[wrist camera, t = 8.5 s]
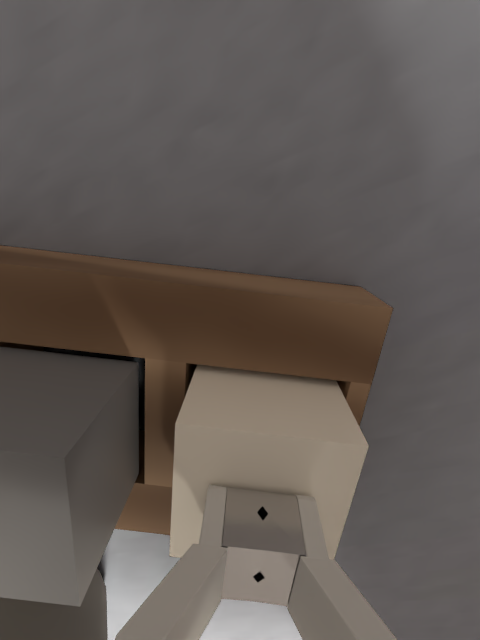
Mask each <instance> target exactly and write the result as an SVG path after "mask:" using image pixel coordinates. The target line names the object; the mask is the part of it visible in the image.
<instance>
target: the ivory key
mask: <svg viewBox="0 0 480 640" xmlns="http://www.w3.org/2000/svg"><path fill="white" fill-rule="evenodd" d="M368 447H369V445H368V443H367V441H366V439H365V437H364V435H363V433H362V431H361V429H360V427H359V425H358V423H357V421H356V419H355V417H354V415H353V413H352V411H351V409H350V407H349V405H348V403H347V401H346V399H345V397H344V395H343V393H342V391H341V389H340V387H339V385H338V383H337V381H336V380H330V379H321V378H312V377H304V376H295V375H286V374H277V373H269V372H260V371H251V370H243V369H234V368H225V367H217V366H208V365H199V364H197V366H196V369H195V372H194V375H193V377H192V380H191V383H190V385H189V388H188V391H187V393H186V396H185V399H184V401H183V404H182V407H181V410H180V412H179V415H178V418H177V420H176V423H175V441H174V463H173V486H172V508H171V530H170V553H169V556H170V557H179V558H181V557H182V556H183V555H184V554H185V553H186V552H187V550H188V549H189V548H190V547H191V546H192V544H199V540H200V534H201V527H202V521H203V515H204V509H205V503H206V497H207V491H208V487H209V485H216V486H223V487H232V488H239V489H246V490H253V491H265V492H274V493H284V494H294V495H301V496H310V497H314V498H315V500H316V503H317V508H318V512H319V516H320V521H321V525H322V530H323V534H324V538H325V543H326V547H327V552H328V556H329V559H331V560H334V558H335V555H336V551H337V548H338V545H339V542H340V538H341V535H342V532H343V529H344V525H345V522H346V519H347V516H348V512H349V509H350V506H351V503H352V499H353V496H354V493H355V490H356V486H357V483H358V480H359V477H360V473H361V470H362V467H363V464H364V460H365V457H366V454H367V451H368Z"/></svg>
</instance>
